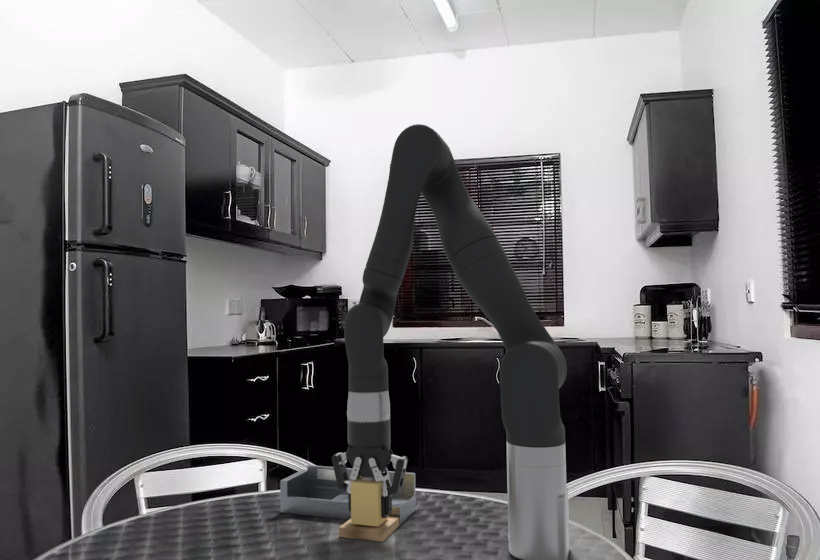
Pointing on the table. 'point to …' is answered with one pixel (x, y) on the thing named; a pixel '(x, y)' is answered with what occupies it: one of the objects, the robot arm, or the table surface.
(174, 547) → the table surface
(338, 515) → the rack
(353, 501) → the yellow block with dome
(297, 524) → the table surface
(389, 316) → the robot arm
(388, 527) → the pad
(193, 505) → the table surface
